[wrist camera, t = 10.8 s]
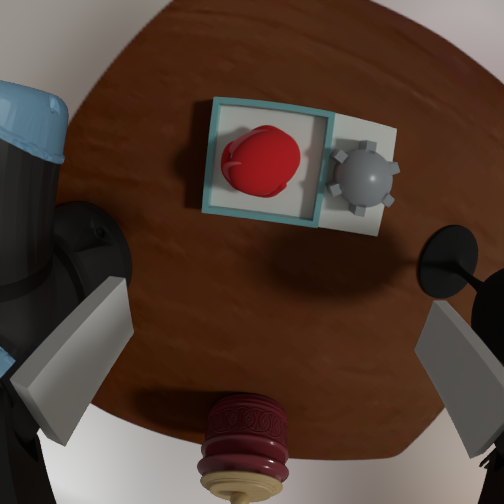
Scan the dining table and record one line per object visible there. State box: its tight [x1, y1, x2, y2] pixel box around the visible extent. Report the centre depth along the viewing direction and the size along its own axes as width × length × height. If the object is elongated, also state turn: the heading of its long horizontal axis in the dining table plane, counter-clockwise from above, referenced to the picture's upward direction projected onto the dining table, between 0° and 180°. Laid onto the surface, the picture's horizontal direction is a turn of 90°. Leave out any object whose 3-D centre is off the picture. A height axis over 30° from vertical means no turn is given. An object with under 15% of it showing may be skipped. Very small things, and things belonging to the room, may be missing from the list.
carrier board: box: [202, 97, 400, 236], centre depth 27 cm, size 19×12×4 cm, turn 83°
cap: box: [221, 125, 301, 198], centre depth 25 cm, size 8×6×6 cm
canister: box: [197, 394, 289, 504], centre depth 34 cm, size 13×13×18 cm
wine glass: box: [419, 225, 504, 365], centre depth 22 cm, size 10×10×20 cm
